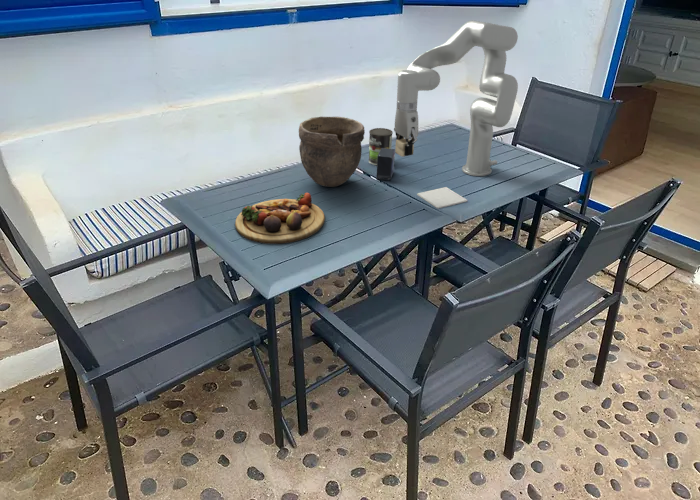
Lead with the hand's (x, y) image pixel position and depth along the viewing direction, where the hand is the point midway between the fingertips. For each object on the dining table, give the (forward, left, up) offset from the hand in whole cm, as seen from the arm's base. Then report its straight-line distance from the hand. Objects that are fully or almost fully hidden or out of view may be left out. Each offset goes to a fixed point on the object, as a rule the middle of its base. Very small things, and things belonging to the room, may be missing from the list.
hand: (404, 152), depth 209 cm
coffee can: (-10, -34, -18) cm, 40 cm away
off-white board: (-12, +11, -17) cm, 24 cm away
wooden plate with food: (+52, +1, -18) cm, 55 cm away
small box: (-4, -19, -18) cm, 26 cm away
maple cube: (0, 0, -1) cm, 1 cm away
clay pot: (+20, -22, -18) cm, 35 cm away
